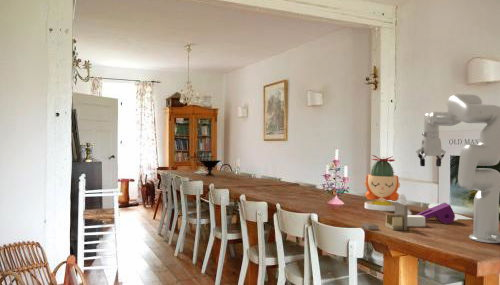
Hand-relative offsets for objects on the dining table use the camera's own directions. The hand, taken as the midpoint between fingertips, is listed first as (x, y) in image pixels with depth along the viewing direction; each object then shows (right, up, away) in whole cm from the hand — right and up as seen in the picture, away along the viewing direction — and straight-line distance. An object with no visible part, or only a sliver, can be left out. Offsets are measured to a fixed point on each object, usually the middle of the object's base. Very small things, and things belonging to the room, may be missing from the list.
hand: (430, 166), depth 217 cm
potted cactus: (-14, -30, +40) cm, 52 cm away
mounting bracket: (+1, -31, -1) cm, 31 cm away
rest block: (-41, -29, -23) cm, 55 cm away
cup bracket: (-29, -29, -22) cm, 47 cm away
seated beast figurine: (-8, -30, +19) cm, 37 cm away
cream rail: (-18, -30, -14) cm, 38 cm away
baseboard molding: (+18, -31, +17) cm, 40 cm away
